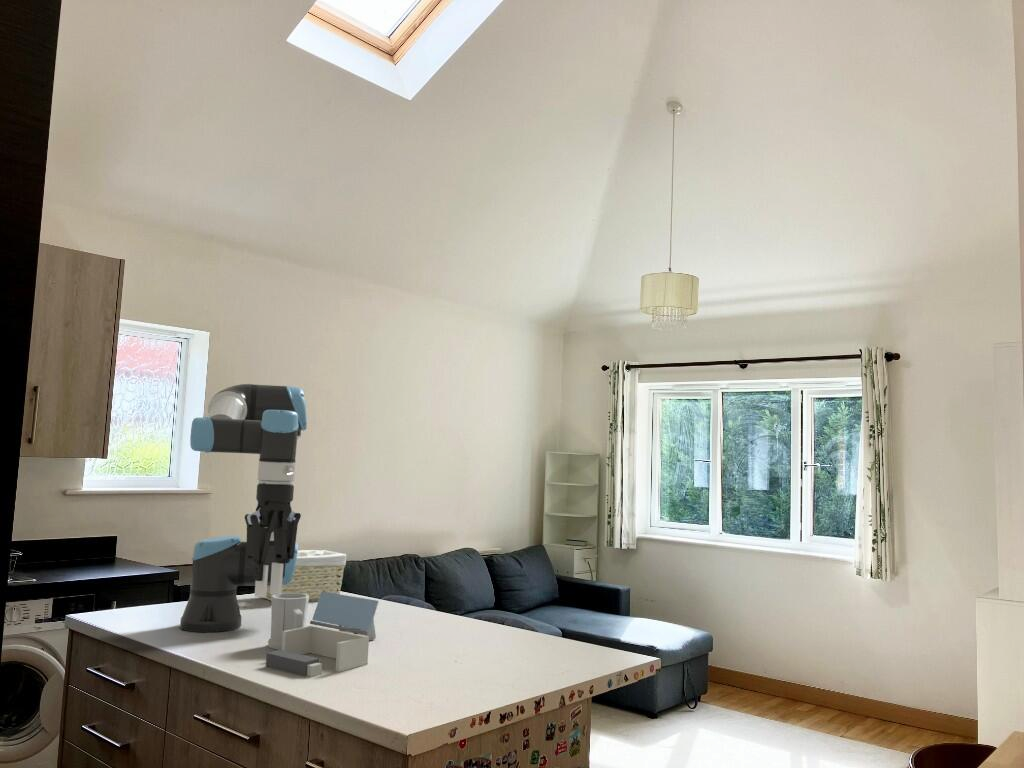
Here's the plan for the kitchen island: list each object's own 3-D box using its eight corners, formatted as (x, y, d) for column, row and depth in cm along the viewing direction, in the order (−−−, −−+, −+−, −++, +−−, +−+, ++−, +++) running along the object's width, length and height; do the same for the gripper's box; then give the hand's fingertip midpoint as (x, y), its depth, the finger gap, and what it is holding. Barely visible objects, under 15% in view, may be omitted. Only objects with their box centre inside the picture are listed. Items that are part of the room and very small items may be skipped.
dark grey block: (265, 667, 174) (266, 652, 174) (279, 663, 177) (280, 649, 177) (309, 678, 167) (310, 663, 167) (323, 674, 170) (324, 659, 170)
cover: (320, 590, 192) (324, 592, 193) (309, 623, 188) (313, 625, 189) (376, 600, 182) (379, 601, 183) (365, 634, 179) (369, 636, 180)
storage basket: (321, 592, 272) (324, 548, 274) (346, 599, 260) (348, 553, 262) (254, 598, 256) (257, 551, 258) (277, 606, 244) (281, 557, 246)
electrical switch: (347, 645, 196) (347, 606, 198) (334, 644, 199) (334, 605, 201) (376, 640, 203) (376, 602, 205) (363, 639, 207) (362, 602, 208)
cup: (318, 645, 195) (322, 595, 196) (297, 653, 186) (300, 600, 188) (282, 640, 198) (285, 591, 200) (259, 648, 190) (263, 596, 191)
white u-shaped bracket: (280, 658, 181) (282, 631, 182) (310, 651, 189) (312, 625, 189) (338, 672, 172) (340, 643, 172) (367, 664, 179) (369, 636, 180)
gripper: (256, 483, 160) (248, 602, 158) (317, 483, 174) (309, 593, 172) (232, 481, 164) (223, 598, 162) (292, 482, 178) (285, 589, 176)
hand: (268, 595), depth 167 cm, fingers open, 3 cm apart
